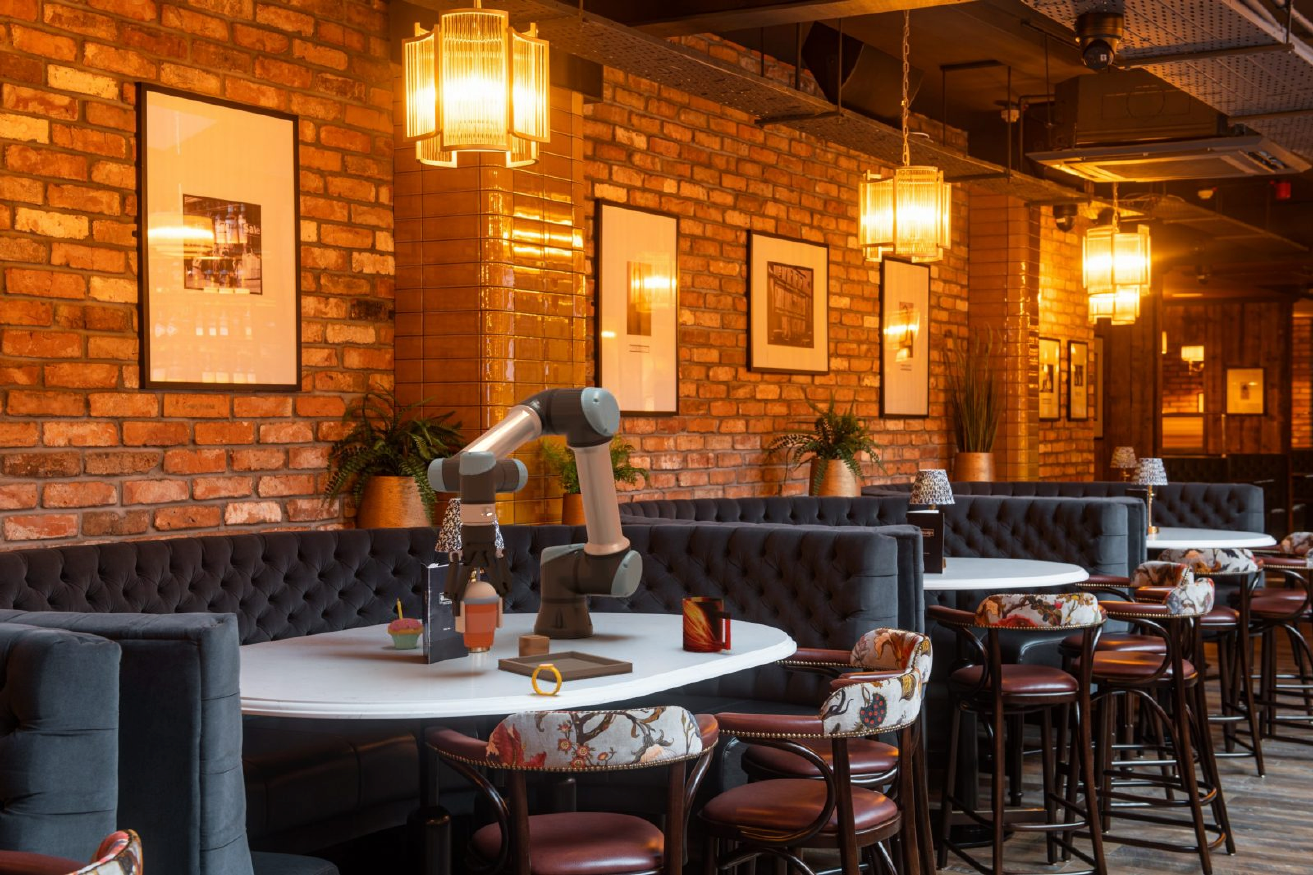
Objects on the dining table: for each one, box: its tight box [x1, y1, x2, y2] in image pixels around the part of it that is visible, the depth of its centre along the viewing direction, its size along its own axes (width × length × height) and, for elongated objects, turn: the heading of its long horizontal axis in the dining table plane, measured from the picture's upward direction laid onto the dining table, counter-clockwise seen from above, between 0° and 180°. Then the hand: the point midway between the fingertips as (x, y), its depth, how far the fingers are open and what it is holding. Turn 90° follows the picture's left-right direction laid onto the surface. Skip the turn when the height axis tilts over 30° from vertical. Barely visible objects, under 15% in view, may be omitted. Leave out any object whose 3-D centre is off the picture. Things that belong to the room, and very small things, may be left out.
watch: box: [531, 664, 562, 696], centre depth 269 cm, size 6×3×6 cm, turn 67°
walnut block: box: [518, 634, 550, 657], centre depth 314 cm, size 5×5×5 cm
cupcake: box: [387, 598, 424, 650], centre depth 330 cm, size 9×8×12 cm
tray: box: [497, 650, 634, 683], centre depth 297 cm, size 22×20×2 cm
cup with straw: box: [461, 567, 500, 649], centre depth 293 cm, size 9×9×18 cm
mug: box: [682, 596, 732, 654], centre depth 327 cm, size 10×14×12 cm
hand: (479, 629), depth 293 cm, fingers closed on cup with straw, 8 cm apart
